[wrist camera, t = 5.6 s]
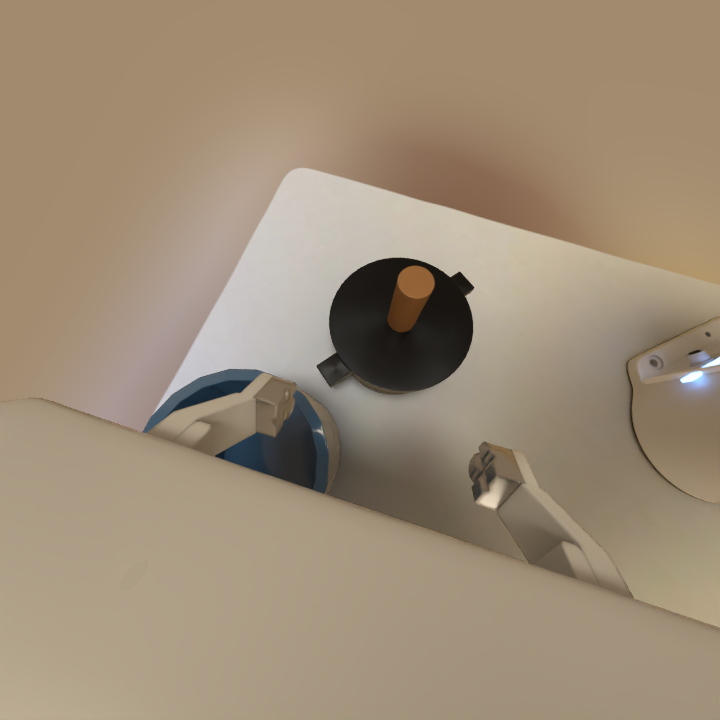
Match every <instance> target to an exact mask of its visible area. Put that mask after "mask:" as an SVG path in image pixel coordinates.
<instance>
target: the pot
mask: <svg viewBox="0 0 720 720" xmlns="http://www.w3.org/2000/svg"><path fill="white" fill-rule="evenodd" d="M261 373H265V372H262V371H259V370H250V369H229V370H224V371H221V372H217V373H214V374H210V375H207V376H203V377H200V378H198V379H196V380H195V381H193V382H192V383H190V384H188V385H187V386H185V387H183V388H182V389H180V390H179V391H177V392H175V393H174V394H172V395H171V396H170V398H169V399H168V400H167V401H166V402H165V403H164V404H163V405H162V406H161V407H160V408H159V409H158V410H157V411H156V412H155V413H154V414H153V416H152V417H151V418H150V419H149V421H148V423H147V425H146V427H145V428H144V430H143V433H146V432H148V431H149V430H150V429H152V428H153V427H154V426H156V425H157V424H158V423H159V422H161V421H162V420H163V419H165V418H166V417H167V416H168V415H170V414H171V413H172V412H174V411H177V410H180V409H183V408H187V407H190V406H193V405H197V404H200V403H203V402H207V401H210V400H213V399H217V398H220V397H223V396H227V395H230V394H234V393H241V392H242V391H243V390H244V389H245V388H246V387H247V386H248V385H249V384H250V383H251V382H253V381H254V380H255V379H256V378H257V377H258V376H259V375H260V374H261ZM266 374H268V373H266ZM269 375H271V374H269ZM272 376H274V375H272ZM276 377H277V376H276ZM293 396H294V397H295V404H294V408H293V410H292V413H291V415H290V416H289V418H288V419H287V420H284V421H283V427H282V428H281V430H280V431H279V433H278V434H277V436H276V437H271V436H268V435H264V434H261V433H258V432H256V433H255V434H253V435H251V436H249V437H248V438H246V439H244V440H242V441H240V442H239V443H237V444H235V445H233V446H231V447H229V448H228V449H226V450H224V451H222V452H220V453H218V454H217V455H215V457H217V458H220V459H223V460H226V461H229V462H232V463H235V464H238V465H241V466H244V467H247V468H250V469H253V470H256V471H258V472H261V473H264V474H267V475H270V476H273V477H276V478H279V479H282V480H285V481H288V482H291V483H294V484H297V485H300V486H303V487H306V488H309V489H312V490H315V491H318V492H320V493H323V494H326V495H327V494H328V492H329V490H330V488H331V485H332V483H333V481H334V478H335V475H336V472H337V469H338V466H339V462H340V438H339V434H338V430H337V427H336V424H335V422H334V420H333V419H332V417H331V415H330V414H329V412H328V411H327V410H326V408H325V407H324V406H323V405H321V404H320V403H319V402H318V401H316V400H315V399H314V398H312V397H311V396H310V395H308V394H306V393H305V392H303V391H302V390H300V389H299V388H297V387H296V392H295V393H294V394H293Z"/></svg>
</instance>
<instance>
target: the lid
mask: <svg viewBox="0 0 720 720" xmlns="http://www.w3.org/2000/svg"><path fill="white" fill-rule="evenodd" d="M329 327H330V335H331V338H332V342H333V345H334V347H335V350H336V352H337V354H338V356H339V357H340V359H341V360H342V362H343V363H344V364H345V366H346V367H347V368H348V369H349V370H350V371H351V372H352V373H353V374H354V375H356V376H357V377H358V378H360V379H361V380H362V381H364V382H366V383H368V384H370V385H372V386H374V387H377V388H380V389H383V390H387V391H393V392H413V391H420V390H423V389H426V388H430V387H432V386H434V385H436V384H438V383H440V382H442V381H443V380H445V379H446V378H448V377H449V376H450V375H451V374H452V373H454V372H455V371H456V369H457V368H458V367H459V366H460V365H461V363H462V362H463V360H464V359H465V357H466V355H467V353H468V351H469V348H470V345H471V341H472V335H473V320H472V313H471V310H470V306H469V304H468V302H467V299H466V297H465V296H464V294H463V292H462V291H461V289H460V288H459V287H458V285H457V284H456V283H455V282H454V281H453V280H452V279H451V278H450V277H449V276H448V275H446V274H445V273H444V272H443V271H441V270H439V269H438V268H436V267H434V266H432V265H430V264H428V263H425V262H422V261H419V260H414V259H409V258H388V259H382V260H378V261H375V262H372V263H369V264H367V265H365V266H363V267H361V268H359V269H358V270H357V271H355V272H354V273H352V274H351V275H350V276H349V277H348V278H347V279H346V280H345V281H344V283H343V284H342V285H341V286H340V288H339V290H338V291H337V293H336V295H335V297H334V299H333V302H332V306H331V309H330V316H329Z"/></svg>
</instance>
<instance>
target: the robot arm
mask: <svg viewBox="0 0 720 720" xmlns="http://www.w3.org/2000/svg"><path fill="white" fill-rule="evenodd" d="M628 373H629V377H630V380H631V383H632V386H633V400H632V420H633V425H634V429H635V433H636V436H637V438H638V441H639V443H640V445H641V447H642V449H643V451H644V452H645V454H646V456H647V457H648V459H649V460H650V461H651V463H652V464H653V465H654V467H655V468H656V469H657V470H658V471H659V472H660V473H661V474H662V475H663V476H664V477H665V478H666V479H667V480H668V481H670V482H671V483H672V484H673V485H675V486H676V487H677V488H679V489H680V490H682V491H684V492H685V493H687V494H689V495H691V496H693V497H696V498H698V499H701V500H704V501H708V502H712V503H718V504H720V316H719V317H716V318H714V319H712V320H710V321H708V322H706V323H704V324H702V325H700V326H698V327H696V328H694V329H692V330H689V331H687V332H685V333H683V334H681V335H679V336H677V337H675V338H673V339H671V340H669V341H667V342H665V343H663V344H661V345H659V346H657V347H655V348H653V349H650V350H648V351H646V352H644V353H642V354H640V355H638V356H636V357H634V358H632V359H631V360H630V361H629V362H628ZM295 392H296V383H294V382H291V381H288V380H285V379H282V378H279V377H276V376H272V375H269V374H266V373H261V374H260V375H259V376H258V377H257V378H256V379H255V380H254V381H253V382H251V383H250V384H249V385H248V386H247V387H246V388H245V389H244V390H243V391H242V392H241V393H234V394H230V395H227V396H223V397H220V398H217V399H213V400H210V401H207V402H203V403H200V404H197V405H193V406H190V407H187V408H183V409H180V410H177V411H174V412H172V413H171V414H170V415H168V416H167V417H166V418H165V419H163V420H162V421H161V422H159V423H158V424H157V425H156V426H154V427H153V428H152V429H150V430H149V431H148V432H146V433H143V432H140V431H137V430H134V429H131V428H128V427H126V426H123V425H120V424H116V423H114V422H111V421H108V420H105V419H102V418H99V417H96V416H93V415H90V414H87V413H84V412H81V411H78V410H75V409H72V408H69V407H67V406H64V405H61V404H59V403H56V402H53V401H49V400H45V399H42V398H26V399H17V400H9V401H2V402H0V720H720V628H719V627H716V626H713V625H710V624H707V623H704V622H701V621H698V620H695V619H692V618H689V617H686V616H683V615H680V614H677V613H674V612H671V611H669V610H666V609H663V608H660V607H657V606H654V605H651V604H648V603H645V602H642V601H639V600H636V599H634V597H633V595H632V594H631V592H630V590H629V588H628V587H627V585H626V583H625V581H624V580H623V578H622V576H621V574H620V572H619V571H618V569H617V567H616V565H615V564H614V562H613V560H612V558H611V557H610V555H609V554H608V553H607V552H606V551H605V550H604V549H603V548H602V547H601V546H600V545H599V544H598V543H597V542H596V541H595V540H594V539H593V538H592V537H591V536H590V535H589V534H588V533H587V532H586V531H585V530H584V529H583V528H582V527H581V526H580V525H579V524H578V523H577V522H576V521H575V520H574V519H573V518H572V517H571V516H570V515H569V514H568V513H567V512H566V511H565V510H564V509H563V508H562V507H561V506H560V505H559V504H558V503H557V502H556V501H555V500H554V499H553V498H552V497H551V496H550V495H549V494H548V493H547V492H546V491H545V490H542V489H540V487H539V485H538V482H537V480H536V478H535V476H534V474H533V471H532V469H531V467H530V465H529V462H528V460H527V458H526V456H525V455H524V454H523V453H522V452H519V451H515V450H512V449H507V448H504V447H501V446H497V445H494V444H491V443H488V442H483V443H482V444H481V445H480V446H479V451H480V452H479V453H477V454H474V455H473V457H472V458H471V460H470V464H469V476H470V478H471V480H472V481H473V482H474V485H473V486H472V492H473V497H474V502H475V503H476V504H479V505H482V506H485V507H487V508H490V509H493V510H496V512H497V514H498V515H499V517H500V519H501V520H502V522H503V523H504V525H505V526H506V528H507V529H508V531H509V532H510V534H511V535H512V537H513V538H514V540H515V542H516V543H517V545H518V546H519V548H520V549H521V551H522V552H523V554H524V555H525V557H526V558H527V560H528V562H529V563H527V562H524V561H521V560H518V559H515V558H512V557H509V556H506V555H503V554H501V553H498V552H495V551H492V550H489V549H486V548H483V547H480V546H477V545H474V544H471V543H468V542H465V541H462V540H459V539H456V538H453V537H450V536H447V535H444V534H441V533H438V532H436V531H433V530H430V529H427V528H424V527H421V526H418V525H415V524H412V523H409V522H406V521H403V520H400V519H397V518H394V517H391V516H388V515H385V514H382V513H379V512H376V511H374V510H371V509H368V508H365V507H362V506H359V505H356V504H353V503H350V502H347V501H344V500H341V499H338V498H335V497H332V496H329V495H326V494H323V493H320V492H318V491H315V490H312V489H309V488H306V487H303V486H300V485H297V484H294V483H291V482H288V481H285V480H282V479H279V478H276V477H273V476H270V475H267V474H264V473H261V472H258V471H256V470H253V469H250V468H247V467H244V466H241V465H238V464H235V463H232V462H229V461H226V460H223V459H220V458H217V457H215V455H217V454H218V453H220V452H222V451H224V450H226V449H228V448H229V447H231V446H233V445H235V444H237V443H239V442H240V441H242V440H244V439H246V438H248V437H249V436H251V435H253V434H255V433H256V432H258V433H261V434H264V435H268V436H271V437H276V436H277V434H278V433H279V431H280V430H281V428H282V427H283V421H284V420H287V419H288V418H289V416H290V415H291V413H292V410H293V408H294V404H295V397H294V396H293V394H294V393H295Z"/></svg>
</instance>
